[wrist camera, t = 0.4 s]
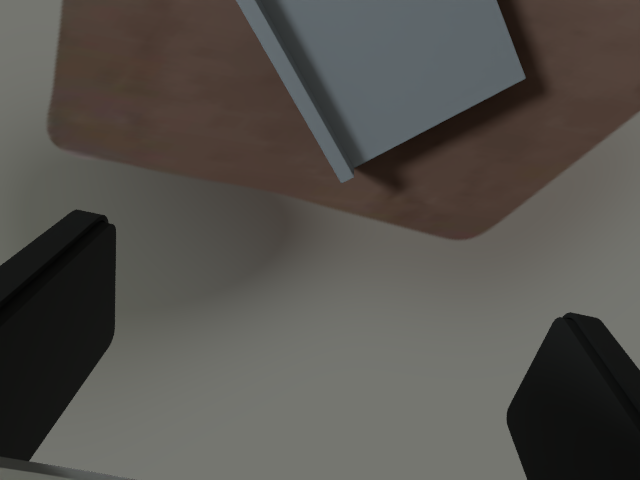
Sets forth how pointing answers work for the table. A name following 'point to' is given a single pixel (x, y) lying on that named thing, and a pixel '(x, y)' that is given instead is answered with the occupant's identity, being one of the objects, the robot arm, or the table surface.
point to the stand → (383, 66)
